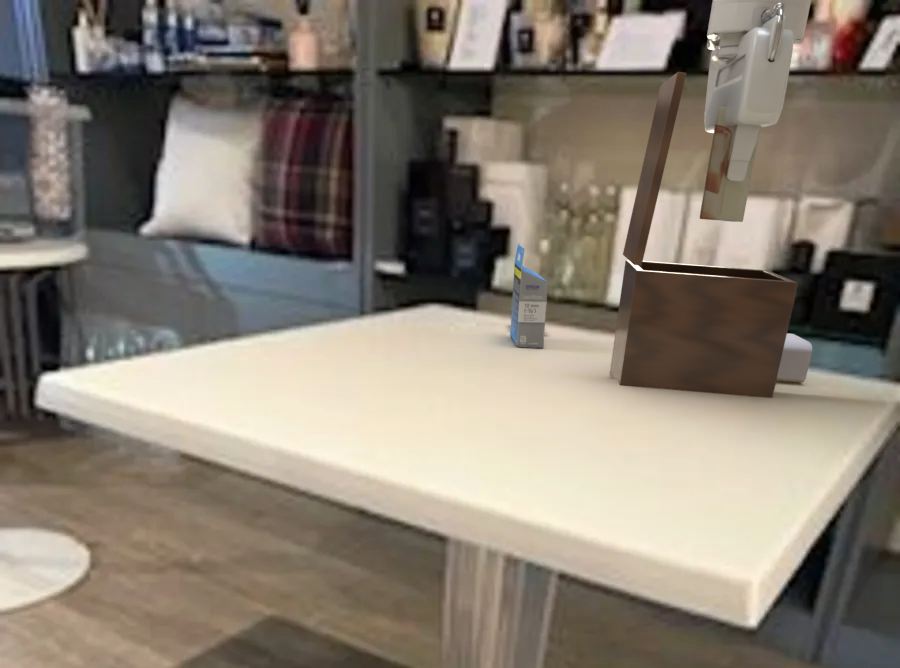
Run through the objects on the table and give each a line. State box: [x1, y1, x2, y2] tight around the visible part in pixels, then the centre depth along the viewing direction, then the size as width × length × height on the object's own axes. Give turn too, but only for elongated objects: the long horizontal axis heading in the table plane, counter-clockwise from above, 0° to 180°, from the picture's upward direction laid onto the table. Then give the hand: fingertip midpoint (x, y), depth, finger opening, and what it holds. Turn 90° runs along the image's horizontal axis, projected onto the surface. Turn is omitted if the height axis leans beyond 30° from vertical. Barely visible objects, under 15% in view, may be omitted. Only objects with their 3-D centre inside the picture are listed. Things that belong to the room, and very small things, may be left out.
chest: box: [608, 259, 799, 399], centre depth 94 cm, size 16×13×13 cm
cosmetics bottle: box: [699, 107, 761, 223], centre depth 87 cm, size 5×4×10 cm
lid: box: [622, 71, 687, 266], centre depth 87 cm, size 16×13×1 cm
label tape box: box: [509, 242, 549, 349], centre depth 117 cm, size 9×4×12 cm, turn 2°
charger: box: [776, 333, 813, 383], centre depth 108 cm, size 5×9×15 cm
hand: (727, 181), depth 88 cm, fingers closed on cosmetics bottle, 5 cm apart
